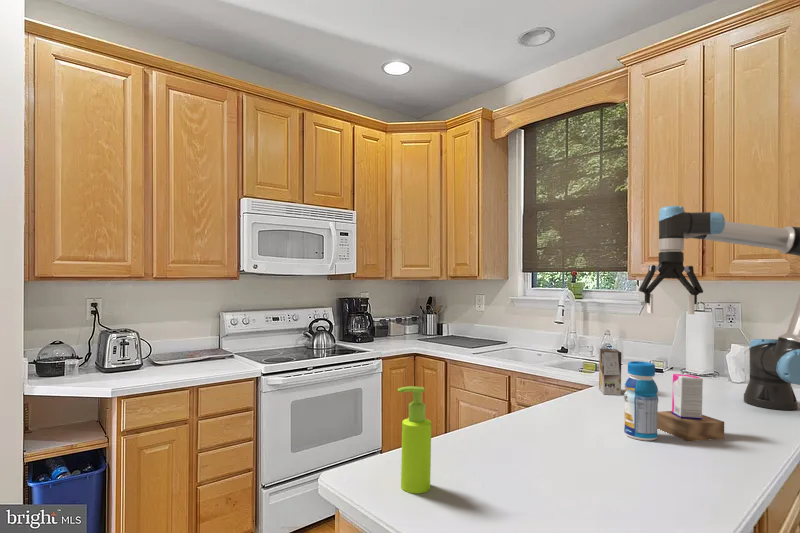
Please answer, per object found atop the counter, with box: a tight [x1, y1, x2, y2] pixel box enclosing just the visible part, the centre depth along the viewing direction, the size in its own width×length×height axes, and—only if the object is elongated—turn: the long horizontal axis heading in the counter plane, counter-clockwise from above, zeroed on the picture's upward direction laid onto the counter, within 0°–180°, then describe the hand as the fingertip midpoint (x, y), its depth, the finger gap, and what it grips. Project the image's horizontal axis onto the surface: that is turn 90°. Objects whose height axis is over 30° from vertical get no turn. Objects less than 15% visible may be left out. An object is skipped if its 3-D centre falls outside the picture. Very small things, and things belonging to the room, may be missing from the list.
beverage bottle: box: [623, 360, 659, 442], centre depth 133 cm, size 8×8×20 cm
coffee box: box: [598, 348, 622, 396], centre depth 185 cm, size 9×6×16 cm
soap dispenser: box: [397, 385, 432, 495], centre depth 98 cm, size 6×7×20 cm
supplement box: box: [671, 373, 704, 420], centre depth 137 cm, size 6×6×12 cm
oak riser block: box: [657, 410, 725, 442], centre depth 136 cm, size 12×12×5 cm
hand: (670, 313), depth 165 cm, fingers open, 13 cm apart
